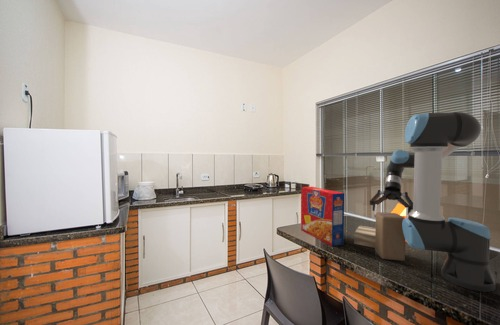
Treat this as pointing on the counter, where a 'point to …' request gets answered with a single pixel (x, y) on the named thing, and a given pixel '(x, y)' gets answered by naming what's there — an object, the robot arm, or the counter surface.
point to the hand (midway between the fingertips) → (390, 218)
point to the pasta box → (323, 215)
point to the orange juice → (400, 210)
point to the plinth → (365, 236)
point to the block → (389, 236)
